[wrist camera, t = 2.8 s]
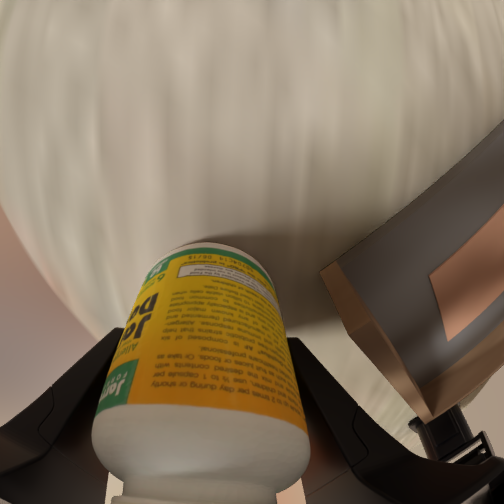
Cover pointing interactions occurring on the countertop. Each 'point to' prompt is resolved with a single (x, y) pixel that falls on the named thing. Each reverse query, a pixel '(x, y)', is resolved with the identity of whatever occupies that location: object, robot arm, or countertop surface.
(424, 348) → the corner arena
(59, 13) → the countertop surface
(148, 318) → the supplement bottle
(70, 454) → the robot arm
